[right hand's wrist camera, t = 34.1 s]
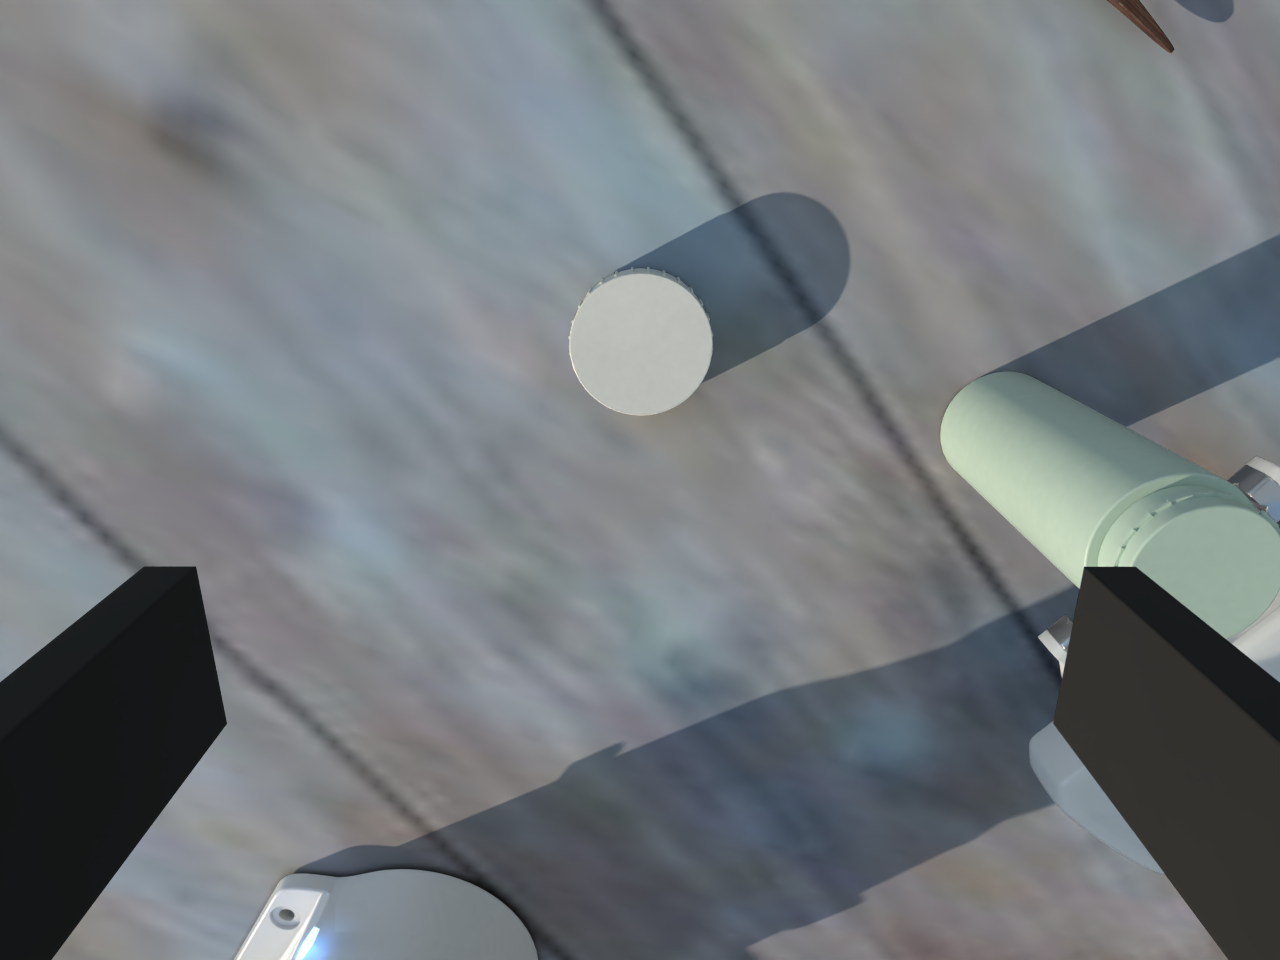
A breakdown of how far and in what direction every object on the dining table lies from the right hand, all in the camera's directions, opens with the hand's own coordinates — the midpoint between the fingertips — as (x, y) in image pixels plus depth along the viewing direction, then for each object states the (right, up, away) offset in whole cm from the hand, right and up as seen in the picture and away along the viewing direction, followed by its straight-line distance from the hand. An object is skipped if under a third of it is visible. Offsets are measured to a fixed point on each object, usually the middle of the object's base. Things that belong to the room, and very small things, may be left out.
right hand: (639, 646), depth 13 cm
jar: (+16, +5, +26) cm, 31 cm away
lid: (0, +8, +23) cm, 25 cm away
